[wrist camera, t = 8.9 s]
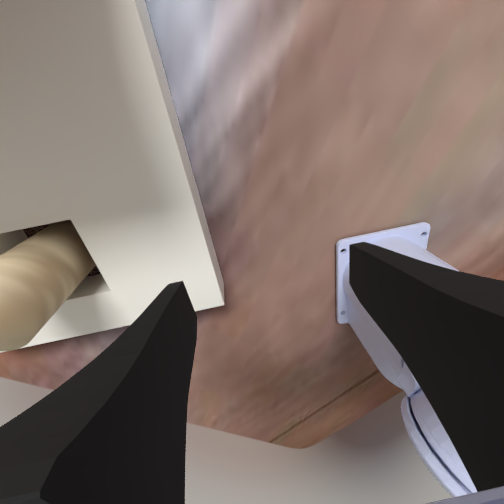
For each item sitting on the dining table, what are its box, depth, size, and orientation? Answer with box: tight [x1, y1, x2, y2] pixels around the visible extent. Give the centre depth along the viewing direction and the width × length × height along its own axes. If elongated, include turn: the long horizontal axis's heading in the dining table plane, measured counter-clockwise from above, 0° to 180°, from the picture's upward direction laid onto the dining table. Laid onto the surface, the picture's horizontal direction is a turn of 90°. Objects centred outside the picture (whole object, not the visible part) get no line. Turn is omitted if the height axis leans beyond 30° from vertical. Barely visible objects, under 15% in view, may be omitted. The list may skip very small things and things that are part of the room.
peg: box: [0, 220, 96, 351], centre depth 15 cm, size 4×4×8 cm
